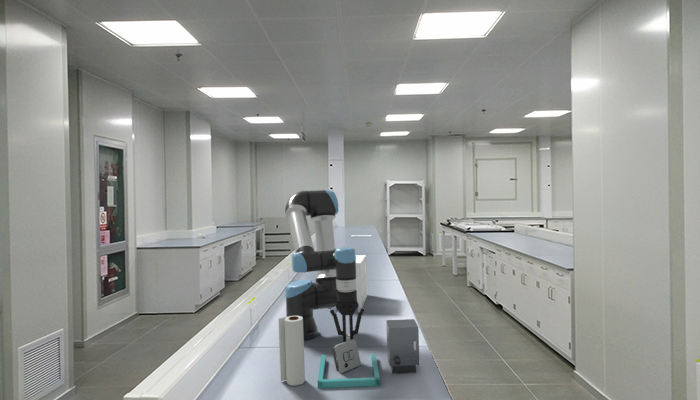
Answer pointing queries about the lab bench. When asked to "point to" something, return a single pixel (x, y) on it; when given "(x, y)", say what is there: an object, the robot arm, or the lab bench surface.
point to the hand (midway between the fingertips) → (348, 352)
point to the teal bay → (350, 381)
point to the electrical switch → (346, 356)
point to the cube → (361, 279)
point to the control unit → (403, 345)
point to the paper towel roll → (292, 350)
